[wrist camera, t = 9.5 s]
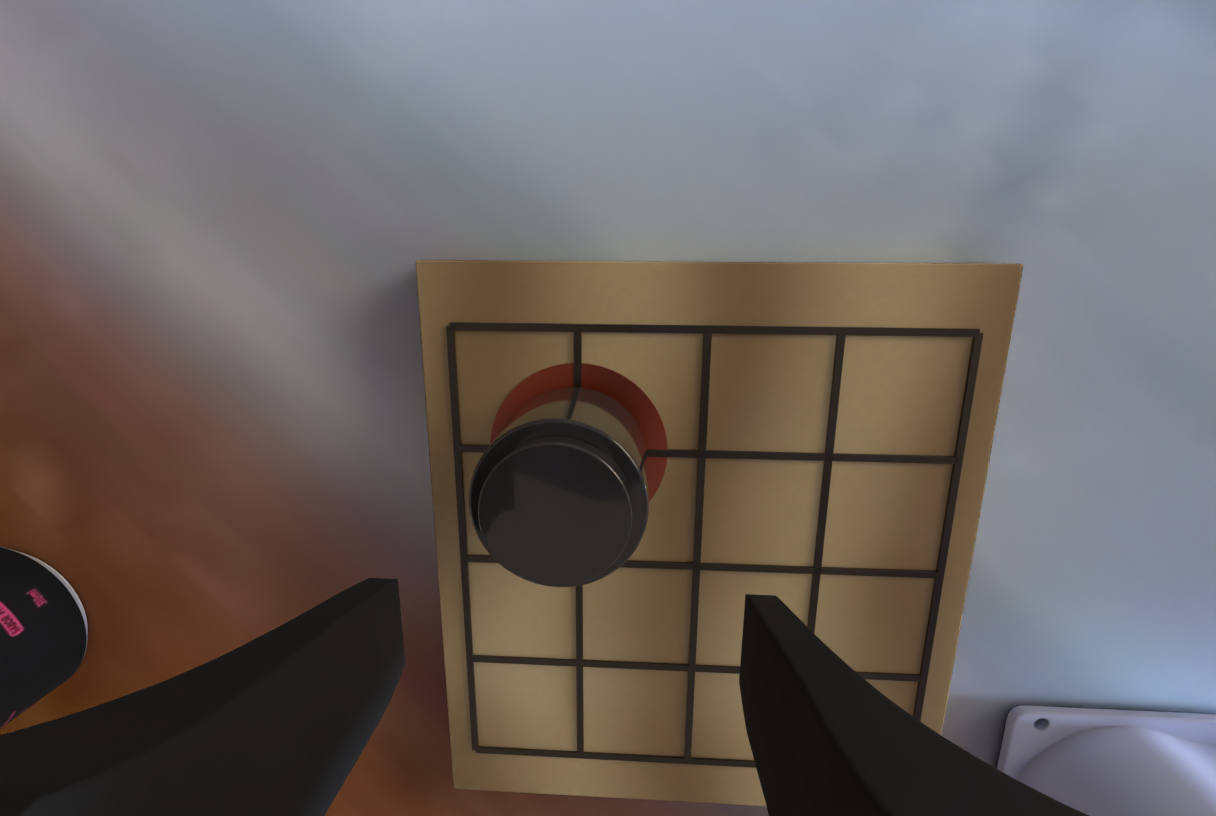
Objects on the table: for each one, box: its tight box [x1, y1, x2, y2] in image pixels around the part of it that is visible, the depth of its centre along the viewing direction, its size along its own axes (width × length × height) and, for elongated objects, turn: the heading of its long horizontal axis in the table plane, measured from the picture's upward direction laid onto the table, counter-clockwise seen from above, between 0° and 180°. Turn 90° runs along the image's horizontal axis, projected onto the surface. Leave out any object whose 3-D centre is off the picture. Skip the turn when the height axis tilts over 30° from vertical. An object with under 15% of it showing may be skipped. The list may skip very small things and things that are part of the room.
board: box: [416, 260, 1023, 806], centre depth 21 cm, size 18×20×2 cm
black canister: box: [469, 387, 649, 587], centre depth 17 cm, size 5×5×5 cm
